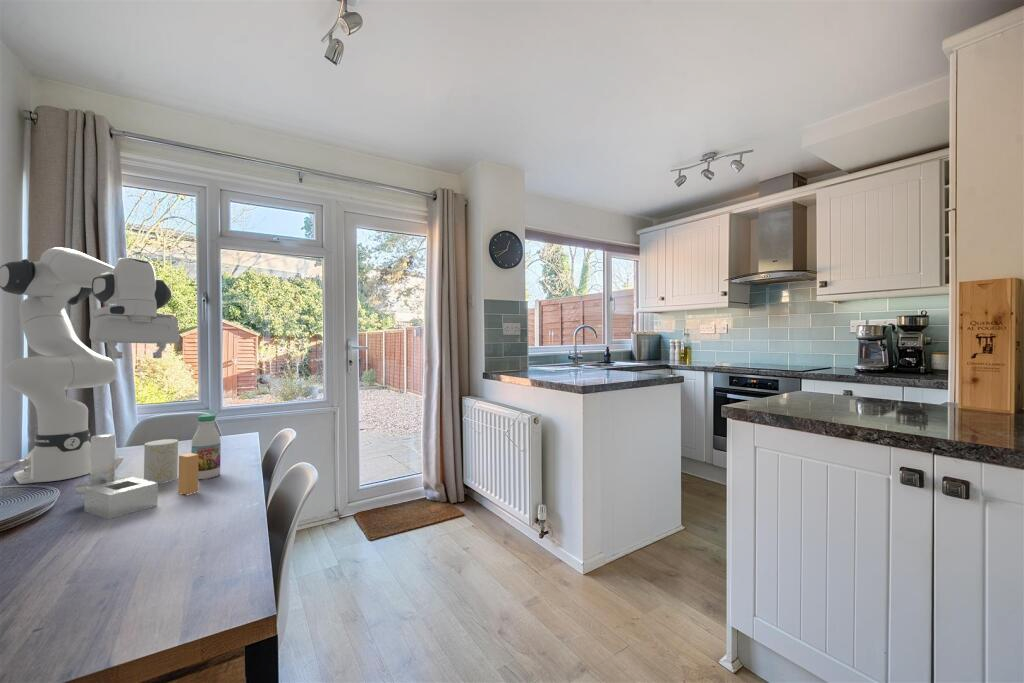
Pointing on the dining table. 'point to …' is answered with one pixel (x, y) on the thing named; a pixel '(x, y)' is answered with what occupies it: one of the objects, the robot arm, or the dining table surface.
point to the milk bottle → (207, 447)
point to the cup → (161, 460)
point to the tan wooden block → (188, 473)
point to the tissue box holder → (113, 484)
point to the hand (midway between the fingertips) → (138, 358)
